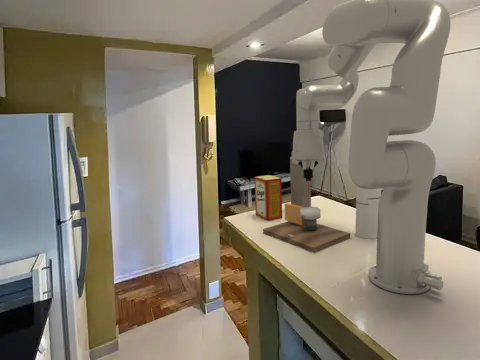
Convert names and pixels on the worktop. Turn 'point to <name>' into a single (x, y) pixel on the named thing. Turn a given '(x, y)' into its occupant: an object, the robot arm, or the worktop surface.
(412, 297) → the worktop surface
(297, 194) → the thermos bottle
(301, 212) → the cap
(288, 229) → the post base
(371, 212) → the cylindrical container
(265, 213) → the baking soda box
